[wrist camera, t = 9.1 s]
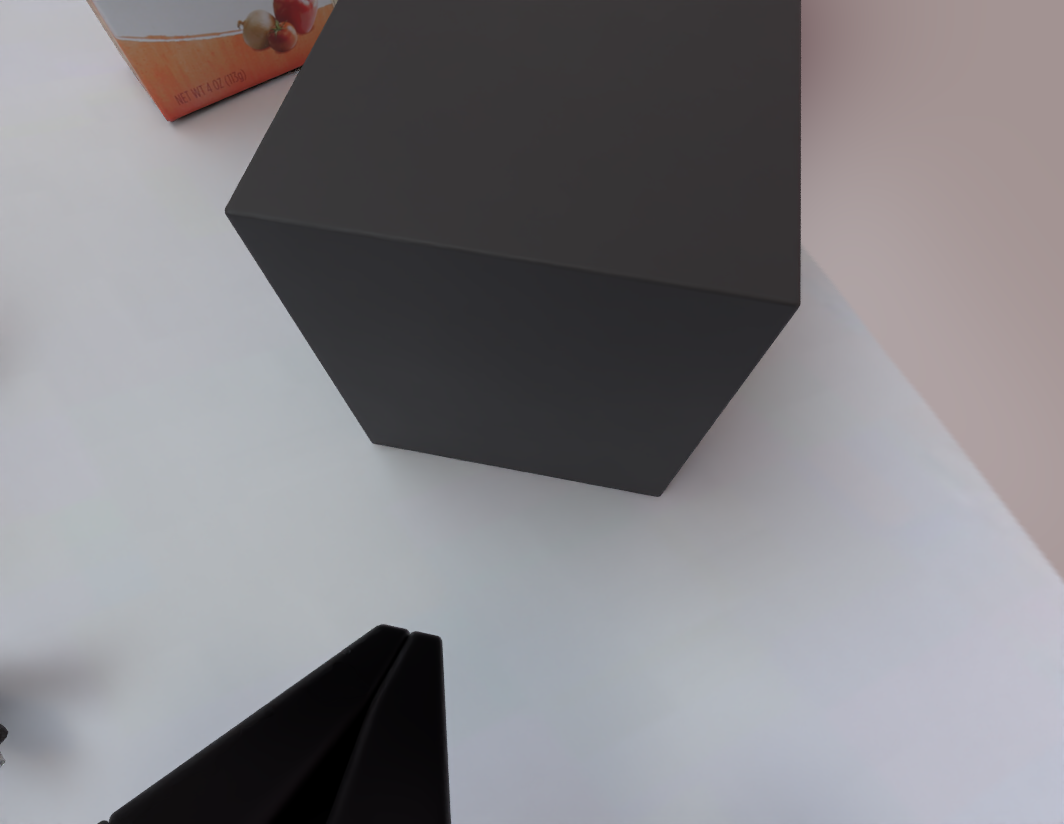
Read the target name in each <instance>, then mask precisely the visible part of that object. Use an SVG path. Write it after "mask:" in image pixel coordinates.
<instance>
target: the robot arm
mask: <svg viewBox="0 0 1064 824" xmlns="http://www.w3.org/2000/svg"><path fill="white" fill-rule="evenodd" d="M98 824H451V814H450V794H449V773H448V752H447V731H446V710H445V690H444V669H443V648H442V640H441V638H440V637H439V636H435V635H431V634H426V633H422V632H417V631H415V632H412V633H411V634H410V632H409V631H408V630H407V629H403V628H399V627H394V626H390V625H385V624H382V625H379V626H376V627H375V628H373V629H372V630H371V631H369V632H368V633H366V634H365V635H363V636H362V637H361V638H359V639H358V640H356V641H355V642H354V643H352V644H351V645H349V646H348V647H347V648H345V649H344V650H342V651H341V652H340V653H338V654H337V655H335V656H334V657H332V658H331V659H330V660H328V661H327V662H325V663H324V664H323V665H321V666H320V667H318V668H317V669H316V670H314V671H313V672H311V673H310V674H309V675H307V676H306V677H304V678H303V679H301V680H300V681H299V682H297V683H296V684H294V685H293V686H292V687H290V688H289V689H287V690H286V691H285V692H283V693H282V694H280V695H279V696H278V697H276V698H275V699H273V700H272V701H270V702H269V703H268V704H266V705H265V706H263V707H262V708H261V709H259V710H258V711H256V712H255V713H254V714H252V715H251V716H249V717H248V718H247V719H245V720H244V721H242V722H241V723H239V724H238V725H237V726H235V727H234V728H232V729H231V730H230V731H228V732H227V733H225V734H224V735H223V736H221V737H220V738H218V739H217V740H216V741H214V742H213V743H211V744H210V745H208V746H207V747H206V748H204V749H203V750H201V751H200V752H199V753H197V754H196V755H194V756H193V757H192V758H190V759H189V760H187V761H186V762H185V763H183V764H182V765H180V766H179V767H177V768H176V769H175V770H173V771H172V772H170V773H169V774H168V775H166V776H165V777H163V778H162V779H161V780H159V781H158V782H156V783H155V784H154V785H152V786H151V787H149V788H148V789H146V790H145V791H144V792H142V793H141V794H139V795H138V796H137V797H135V798H134V799H132V800H131V801H130V802H128V803H127V804H125V805H124V806H123V807H121V808H120V809H118V810H117V811H115V812H114V813H113V814H112V815H111V817H110V820H109V823H108V821H105V820H104V821H101V822H99V823H98Z"/></svg>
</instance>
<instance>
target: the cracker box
mask: <svg viewBox="0 0 1064 824" xmlns="http://www.w3.org/2000/svg"><path fill="white" fill-rule="evenodd" d="M86 1H87V2H88V4H89V5H90V7H91V8H92V10H93V12H94V13H95V15H96V16H97V18H98V19H99V21H100V23H101V24H102V26H103V27H104V29H105V30H106V32H107V34H108V35H109V37H110V38H111V40H112V41H113V43H114V45H115V46H116V48H117V49H118V51H119V52H120V54H121V55H122V57H123V58H124V60H125V61H126V63H127V64H128V66H129V67H130V68H131V70H132V71H133V73H134V74H135V76H136V77H137V79H138V80H139V81H140V83H141V84H142V86H143V87H144V88H145V90H146V91H147V93H148V94H149V95H150V97H151V98H152V100H153V101H154V103H155V104H156V105H157V107H158V108H159V110H160V111H161V112H162V114H163V115H164V117H165V118H166V120H167V121H170V122H172V121H174V120H176V119H178V118H180V117H183V116H185V115H187V114H189V113H192V112H194V111H196V110H199V109H201V108H203V107H206V106H208V105H211V104H213V103H215V102H218V101H220V100H222V99H225V98H227V97H229V96H232V95H234V94H236V93H239V92H241V91H243V90H246V89H248V88H250V87H253V86H255V85H257V84H260V83H262V82H265V81H267V80H269V79H272V78H274V77H277V76H279V75H281V74H284V73H286V72H288V71H291V70H293V69H295V68H297V67H300V66H302V65H303V64H304V62H305V60H306V58H307V57H308V55H309V53H310V51H311V49H312V47H313V46H314V44H315V42H316V40H317V38H318V36H319V34H320V33H321V31H322V29H323V27H324V25H325V23H326V22H327V20H328V18H329V16H330V14H331V12H332V10H333V9H334V7H335V5H336V3H337V1H338V0H86Z"/></svg>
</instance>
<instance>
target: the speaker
mask: <svg viewBox="0 0 1064 824" xmlns="http://www.w3.org/2000/svg"><path fill="white" fill-rule="evenodd" d="M800 191H801V0H338V1H337V3H336V5H335V7H334V9H333V10H332V12H331V14H330V16H329V18H328V20H327V22H326V23H325V25H324V27H323V29H322V31H321V33H320V34H319V36H318V38H317V40H316V42H315V44H314V46H313V47H312V49H311V51H310V53H309V55H308V57H307V58H306V60H305V62H304V64H303V66H302V68H301V70H300V71H299V73H298V75H297V77H296V79H295V81H294V82H293V84H292V86H291V88H290V90H289V92H288V94H287V95H286V97H285V99H284V101H283V103H282V105H281V106H280V108H279V110H278V112H277V114H276V116H275V118H274V119H273V121H272V123H271V125H270V127H269V129H268V130H267V132H266V134H265V136H264V138H263V140H262V142H261V143H260V145H259V147H258V149H257V151H256V153H255V154H254V156H253V158H252V160H251V162H250V164H249V166H248V167H247V169H246V171H245V173H244V175H243V177H242V179H241V180H240V182H239V184H238V186H237V188H236V190H235V191H234V193H233V195H232V197H231V199H230V201H229V203H228V204H227V206H226V208H225V214H226V216H227V217H228V219H229V220H230V222H231V223H232V225H233V226H234V228H235V230H236V231H237V233H238V234H239V236H240V237H241V239H242V241H243V242H244V244H245V245H246V247H247V248H248V250H249V251H250V253H251V255H252V256H253V258H254V259H255V261H256V262H257V264H258V266H259V267H260V269H261V270H262V272H263V273H264V275H265V276H266V278H267V280H268V281H269V283H270V284H271V286H272V287H273V289H274V291H275V292H276V294H277V295H278V297H279V298H280V300H281V301H282V303H283V305H284V306H285V308H286V309H287V311H288V312H289V314H290V316H291V317H292V319H293V320H294V322H295V323H296V325H297V326H298V328H299V330H300V331H301V333H302V334H303V336H304V337H305V339H306V341H307V342H308V344H309V345H310V347H311V348H312V350H313V351H314V353H315V355H316V356H317V358H318V359H319V361H320V362H321V364H322V366H323V367H324V369H325V370H326V372H327V373H328V375H329V376H330V378H331V380H332V381H333V383H334V384H335V386H336V387H337V389H338V391H339V392H340V394H341V395H342V397H343V398H344V400H345V401H346V403H347V405H348V406H349V408H350V409H351V411H352V412H353V414H354V416H355V417H356V419H357V420H358V422H359V423H360V425H361V426H362V428H363V430H364V431H365V433H366V434H367V436H368V437H369V439H370V441H371V442H372V443H376V444H381V445H386V446H392V447H397V448H402V449H408V450H413V451H418V452H424V453H429V454H434V455H439V456H445V457H450V458H455V459H461V460H466V461H471V462H477V463H482V464H487V465H493V466H498V467H503V468H509V469H514V470H519V471H525V472H530V473H535V474H540V475H546V476H551V477H556V478H562V479H567V480H572V481H578V482H583V483H588V484H594V485H599V486H604V487H610V488H615V489H620V490H626V491H631V492H636V493H642V494H647V495H652V496H657V497H658V496H660V495H661V494H662V493H663V491H664V490H665V489H666V487H667V486H668V485H669V483H670V482H671V480H672V479H673V478H674V476H675V475H676V474H677V472H678V471H679V470H680V468H681V467H682V465H683V464H684V463H685V461H686V460H687V459H688V457H689V456H690V455H691V453H692V452H693V451H694V449H695V448H696V446H697V445H698V444H699V442H700V441H701V440H702V438H703V437H704V436H705V434H706V433H707V432H708V430H709V429H710V427H711V426H712V425H713V423H714V422H715V421H716V419H717V418H718V417H719V415H720V414H721V412H722V411H723V410H724V408H725V407H726V406H727V404H728V403H729V402H730V400H731V399H732V398H733V396H734V395H735V393H736V392H737V391H738V389H739V388H740V387H741V385H742V384H743V383H744V381H745V380H746V379H747V377H748V376H749V374H750V373H751V372H752V370H753V369H754V368H755V366H756V365H757V364H758V362H759V361H760V359H761V358H762V357H763V355H764V354H765V353H766V351H767V350H768V349H769V347H770V346H771V345H772V343H773V342H774V340H775V339H776V338H777V336H778V335H779V334H780V332H781V331H782V330H783V328H784V327H785V326H786V324H787V323H788V321H789V320H790V319H791V317H792V316H793V315H794V313H795V312H796V311H797V309H798V308H799V306H800V254H801V239H800V238H801V234H800V233H801V231H800V229H801V226H800V224H801V219H800V218H801V217H800V215H801V209H800V208H801V199H800V198H801V195H800V193H801V192H800Z"/></svg>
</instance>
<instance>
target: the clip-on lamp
mask: <svg viewBox="0 0 1064 824" xmlns="http://www.w3.org/2000/svg"><path fill="white" fill-rule="evenodd" d="M7 734H8V731H7V729H6V728H5V727H4V726H3V725H1V724H0V744H1V743H2V742H3V741H4V739H5V738H6V737H7ZM4 763H5V759H4V758H3V756H2V754H1V752H0V767H1V766H2V765H3V764H4Z"/></svg>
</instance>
